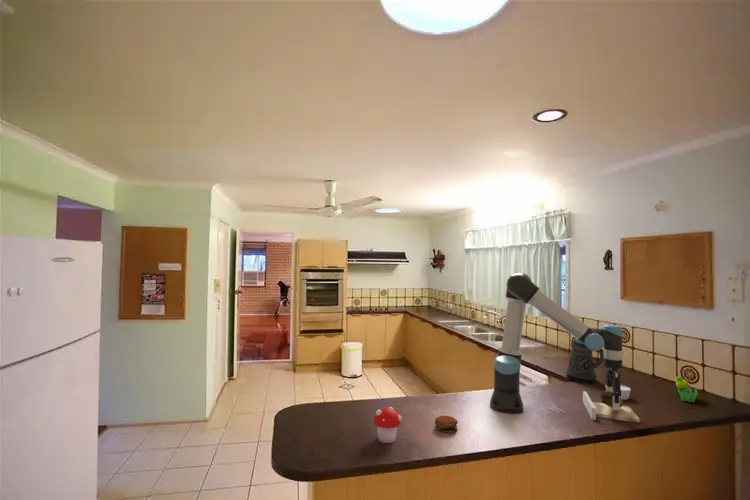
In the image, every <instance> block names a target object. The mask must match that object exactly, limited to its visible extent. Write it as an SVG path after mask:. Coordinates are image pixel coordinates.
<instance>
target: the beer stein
mask: <svg viewBox="0 0 750 500" xmlns="http://www.w3.org/2000/svg"><path fill="white" fill-rule="evenodd" d="M570 348H571V352H570V356H569V362H568V366H567V369H566V370H565V376H566V379H567V380H569V381H571V382H575V383H578V384H595V383H596V382H597V379H598V378H597V374H596V371H595V369H596V368H598V367H600V366H601V364H602V363H604V358H605V357H604V348H602V349H601V350H598V351H596V352H597V353H598V354H599V358H598V359H597V361H595V362H594V358H593V357H594V356H593V352H594V351H593V350H590V349H589V348H587V347H586V345H584V344H582V343H577V342H576V339H575V340H574V341H572V342H571V343H570Z"/></svg>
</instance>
